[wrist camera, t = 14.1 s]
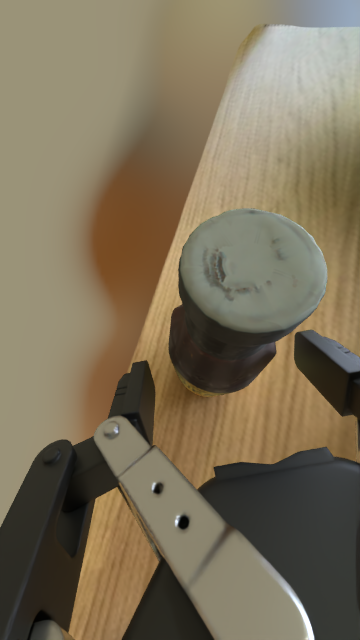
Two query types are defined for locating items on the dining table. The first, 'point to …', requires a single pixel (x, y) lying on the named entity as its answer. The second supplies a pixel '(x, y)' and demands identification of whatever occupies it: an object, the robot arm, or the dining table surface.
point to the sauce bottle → (241, 297)
